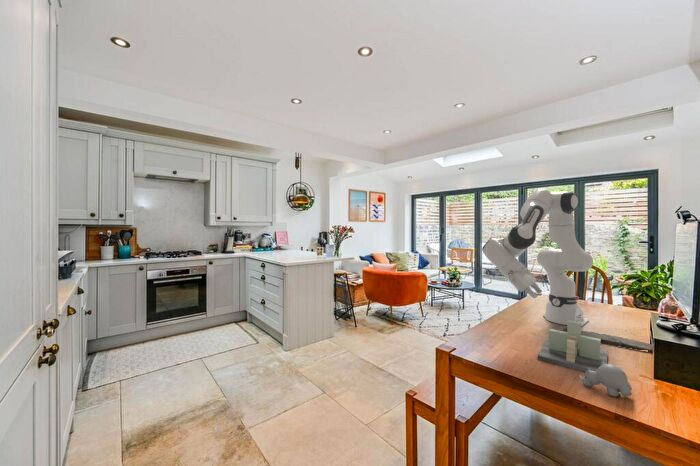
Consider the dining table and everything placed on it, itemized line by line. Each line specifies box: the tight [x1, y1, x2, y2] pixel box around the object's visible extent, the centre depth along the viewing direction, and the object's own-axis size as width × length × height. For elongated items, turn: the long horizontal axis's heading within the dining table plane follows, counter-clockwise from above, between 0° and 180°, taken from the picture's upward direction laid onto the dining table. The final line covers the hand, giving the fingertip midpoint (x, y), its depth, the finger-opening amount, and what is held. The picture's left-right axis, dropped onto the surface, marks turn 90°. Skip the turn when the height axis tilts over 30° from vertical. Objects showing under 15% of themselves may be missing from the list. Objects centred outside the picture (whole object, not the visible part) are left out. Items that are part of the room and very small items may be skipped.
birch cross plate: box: [537, 335, 609, 373], centre depth 115 cm, size 24×20×9 cm
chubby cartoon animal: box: [579, 363, 633, 397], centre depth 92 cm, size 7×12×8 cm, turn 42°
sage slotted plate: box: [548, 320, 602, 361], centre depth 115 cm, size 16×2×12 cm, turn 48°
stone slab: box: [563, 328, 653, 352], centre depth 133 cm, size 10×3×30 cm
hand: (538, 295), depth 123 cm, fingers open, 8 cm apart
